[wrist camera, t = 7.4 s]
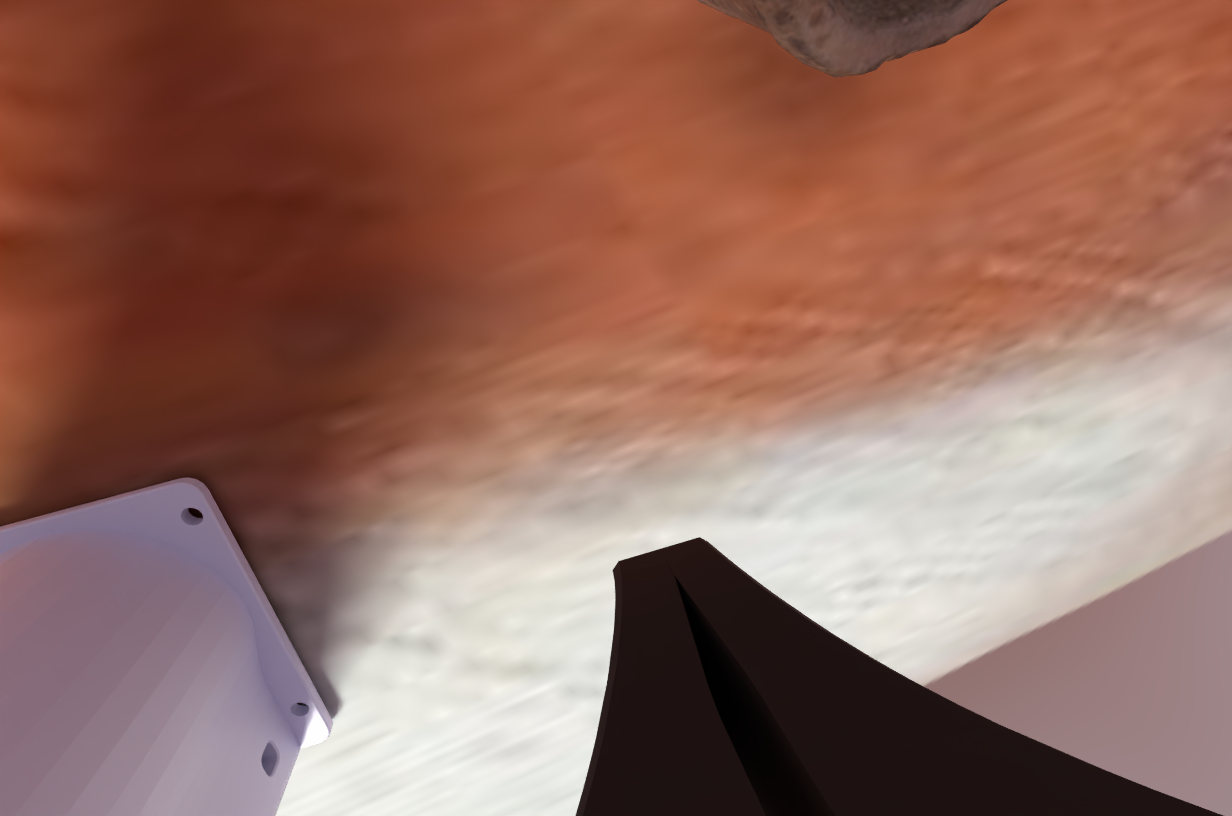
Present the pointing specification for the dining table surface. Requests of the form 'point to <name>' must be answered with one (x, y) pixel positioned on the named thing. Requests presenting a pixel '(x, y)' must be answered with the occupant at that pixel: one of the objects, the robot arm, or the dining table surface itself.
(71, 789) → the robot arm
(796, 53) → the pipe
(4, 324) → the dining table surface
